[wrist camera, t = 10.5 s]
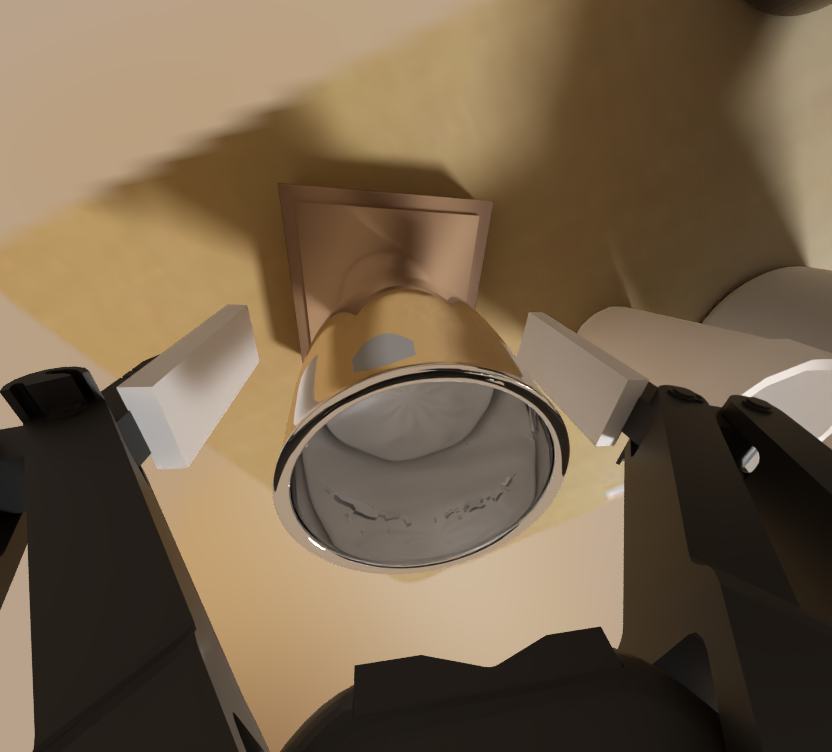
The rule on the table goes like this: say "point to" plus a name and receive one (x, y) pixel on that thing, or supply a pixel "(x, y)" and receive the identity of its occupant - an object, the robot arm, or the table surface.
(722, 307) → the cylinder vase
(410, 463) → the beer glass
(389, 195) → the coaster
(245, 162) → the table surface
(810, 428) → the foam cup
